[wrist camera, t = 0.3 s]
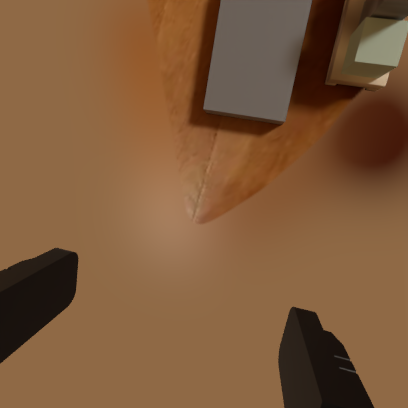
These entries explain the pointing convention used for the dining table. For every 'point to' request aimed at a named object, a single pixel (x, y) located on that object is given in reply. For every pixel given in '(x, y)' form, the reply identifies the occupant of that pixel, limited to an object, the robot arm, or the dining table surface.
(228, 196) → the dining table surface
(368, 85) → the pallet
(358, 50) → the green block
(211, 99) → the dock
